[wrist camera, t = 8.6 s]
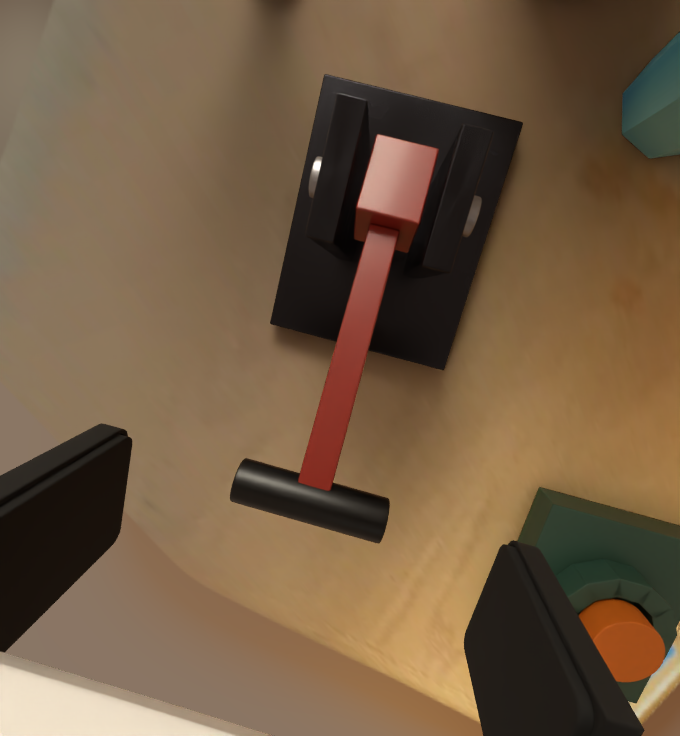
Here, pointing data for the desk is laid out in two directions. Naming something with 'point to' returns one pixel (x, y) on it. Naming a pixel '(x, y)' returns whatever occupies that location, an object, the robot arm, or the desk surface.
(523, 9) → the desk surface
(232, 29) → the desk surface
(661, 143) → the cup
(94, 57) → the desk surface
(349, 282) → the bracket
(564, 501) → the control block
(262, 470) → the lever
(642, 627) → the button
